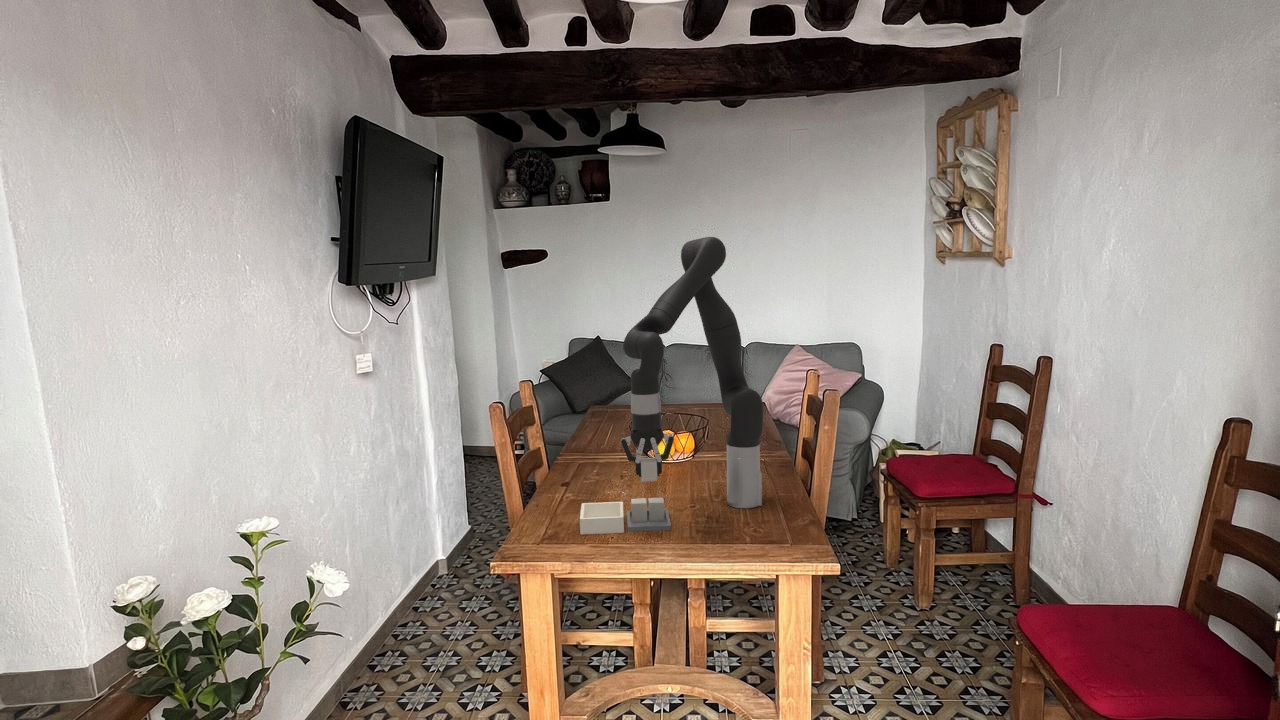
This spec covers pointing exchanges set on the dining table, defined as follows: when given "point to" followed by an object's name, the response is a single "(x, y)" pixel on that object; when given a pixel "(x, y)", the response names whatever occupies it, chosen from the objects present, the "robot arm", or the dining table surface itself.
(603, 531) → the cream dish
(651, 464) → the stone
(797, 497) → the dining table surface
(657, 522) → the slate tray
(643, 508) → the stone
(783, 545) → the dining table surface
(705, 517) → the dining table surface
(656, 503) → the stone
